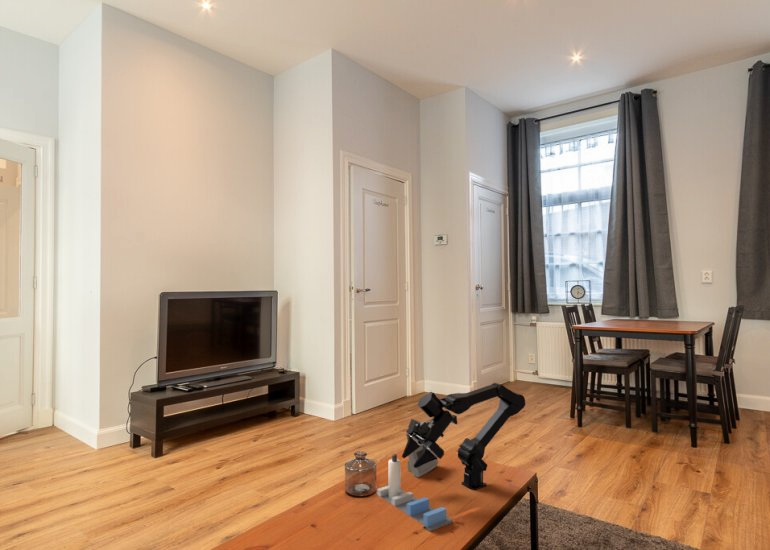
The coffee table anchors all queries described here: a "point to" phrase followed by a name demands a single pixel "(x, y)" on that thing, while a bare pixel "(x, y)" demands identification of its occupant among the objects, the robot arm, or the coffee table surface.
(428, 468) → the digital clock
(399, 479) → the bottle
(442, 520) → the slotted divider tray
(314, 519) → the coffee table surface
